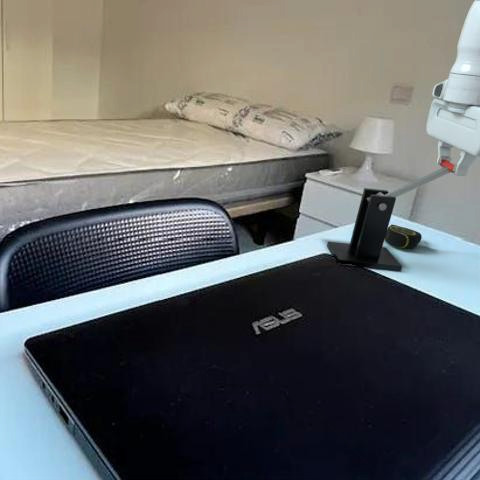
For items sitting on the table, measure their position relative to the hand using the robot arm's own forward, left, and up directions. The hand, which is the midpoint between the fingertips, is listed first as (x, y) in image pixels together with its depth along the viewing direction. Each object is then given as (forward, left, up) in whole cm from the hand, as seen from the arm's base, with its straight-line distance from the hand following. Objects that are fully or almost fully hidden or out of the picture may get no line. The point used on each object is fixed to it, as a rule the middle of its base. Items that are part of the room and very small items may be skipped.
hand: (450, 170), depth 92 cm
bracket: (+11, 0, -19) cm, 23 cm away
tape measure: (+1, -10, -20) cm, 22 cm away
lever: (+5, 0, -5) cm, 7 cm away
